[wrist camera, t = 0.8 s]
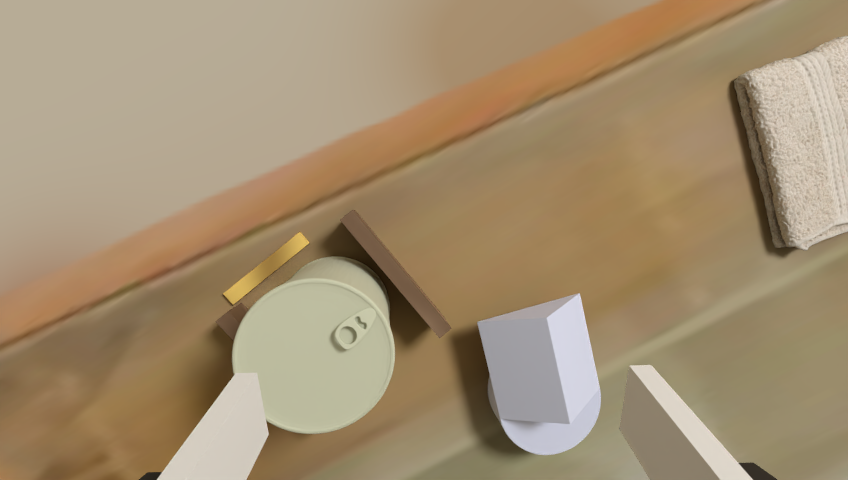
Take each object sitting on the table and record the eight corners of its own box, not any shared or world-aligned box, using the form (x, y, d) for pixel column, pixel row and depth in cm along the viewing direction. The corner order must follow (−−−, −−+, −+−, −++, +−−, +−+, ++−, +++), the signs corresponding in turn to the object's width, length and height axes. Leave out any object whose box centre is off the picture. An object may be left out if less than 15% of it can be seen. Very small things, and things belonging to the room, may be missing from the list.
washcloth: (769, 255, 39) (802, 258, 36) (721, 79, 37) (752, 67, 34) (868, 214, 40) (909, 214, 37) (827, 41, 38) (866, 26, 35)
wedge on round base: (467, 311, 35) (499, 445, 36) (488, 334, 28) (527, 496, 30) (560, 285, 36) (589, 416, 37) (602, 301, 29) (635, 460, 31)
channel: (324, 414, 34) (317, 441, 30) (217, 298, 32) (195, 310, 28) (442, 315, 35) (451, 328, 31) (343, 196, 33) (339, 194, 29)
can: (411, 315, 35) (428, 368, 23) (328, 383, 34) (301, 473, 22) (344, 234, 33) (326, 244, 22) (257, 302, 33) (189, 351, 21)
